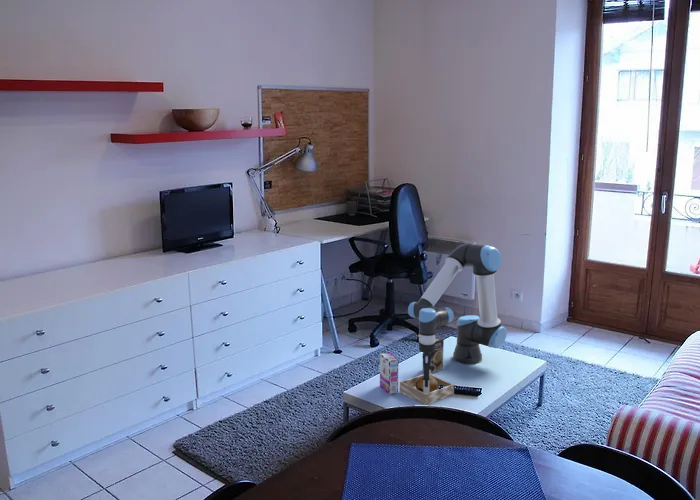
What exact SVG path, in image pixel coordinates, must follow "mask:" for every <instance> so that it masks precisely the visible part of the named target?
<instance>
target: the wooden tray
mask: <svg viewBox="0 0 700 500" xmlns="http://www.w3.org/2000/svg"><path fill="white" fill-rule="evenodd" d="M422 376H424V373H423V374H420V375H417V376H414V377H411V378H407V379H405V380H401V381H400V382H399V393H401V394H403V395H405V396H407V397H409V398H410V399H413V401H414V400H415V401H416V402H419V403H420V404H422V405H424V406H427V405H430V404H433V403H436V402H438V401H441V400H444V399H446V398H449V397H451V396H452V397H453V396H454V395H455V384H453V383H452V382H449V381H446V380H444V379H442V378H440V377H438V376H435V375H433V374H431V373H430V376H432V377H433V378H434V379H435V380H436V381H437V384H438V386H437V389H436V390H435V391H432V392H429V393H423V392H421V391H419V390H417V389H416V382H417V380H418V379H419V378H420V377H422ZM440 385H443V386H446V387H443V388H441V389H439V386H440Z"/></svg>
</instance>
